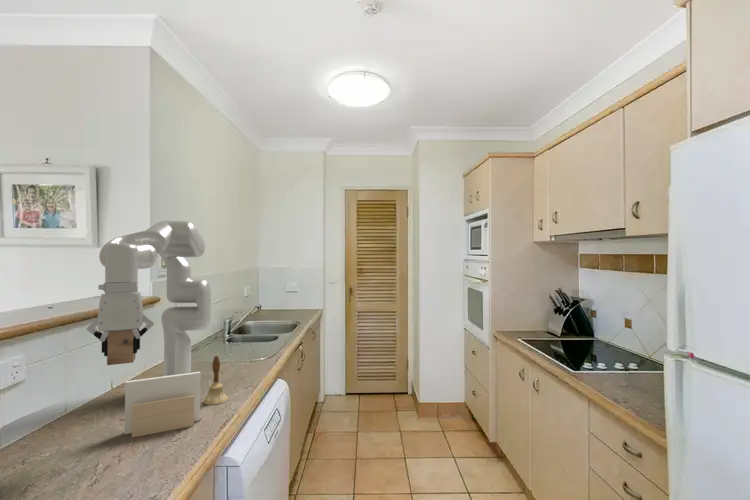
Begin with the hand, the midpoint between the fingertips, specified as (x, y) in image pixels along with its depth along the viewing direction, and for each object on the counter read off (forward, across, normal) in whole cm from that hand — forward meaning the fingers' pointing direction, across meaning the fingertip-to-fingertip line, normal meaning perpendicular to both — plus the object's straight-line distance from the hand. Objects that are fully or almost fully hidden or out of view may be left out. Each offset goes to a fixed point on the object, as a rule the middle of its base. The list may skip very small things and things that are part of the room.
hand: (121, 353), depth 105 cm
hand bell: (+26, +26, +23) cm, 43 cm away
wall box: (+3, 0, +2) cm, 3 cm away
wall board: (+25, +10, +7) cm, 28 cm away
